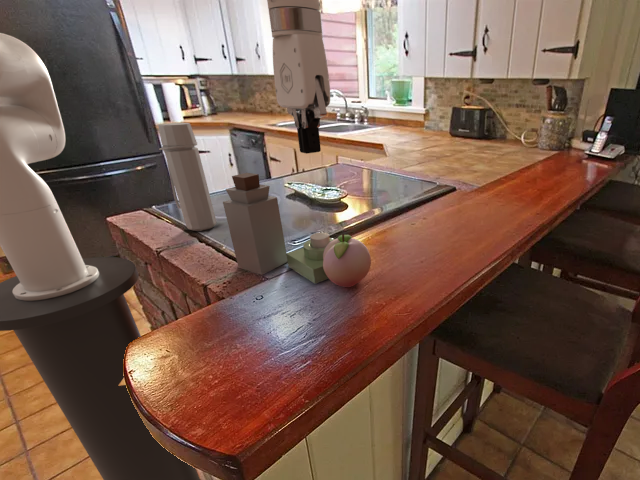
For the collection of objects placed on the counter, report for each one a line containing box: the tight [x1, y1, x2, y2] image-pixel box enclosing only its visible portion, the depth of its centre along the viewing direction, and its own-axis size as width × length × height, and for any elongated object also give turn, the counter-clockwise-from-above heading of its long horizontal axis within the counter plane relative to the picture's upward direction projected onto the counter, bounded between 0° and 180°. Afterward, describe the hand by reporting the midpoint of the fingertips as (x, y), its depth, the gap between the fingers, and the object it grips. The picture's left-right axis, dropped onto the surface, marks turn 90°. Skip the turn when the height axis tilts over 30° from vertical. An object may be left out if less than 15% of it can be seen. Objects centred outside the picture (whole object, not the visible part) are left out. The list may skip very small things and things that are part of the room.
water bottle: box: [157, 122, 218, 232], centre depth 88 cm, size 9×8×25 cm
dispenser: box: [286, 237, 336, 285], centre depth 71 cm, size 10×10×5 cm
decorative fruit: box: [323, 233, 372, 288], centre depth 63 cm, size 9×8×10 cm
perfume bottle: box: [222, 172, 288, 276], centre depth 69 cm, size 7×7×18 cm
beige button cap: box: [309, 232, 331, 248], centre depth 69 cm, size 4×4×2 cm
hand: (310, 151), depth 63 cm, fingers closed
